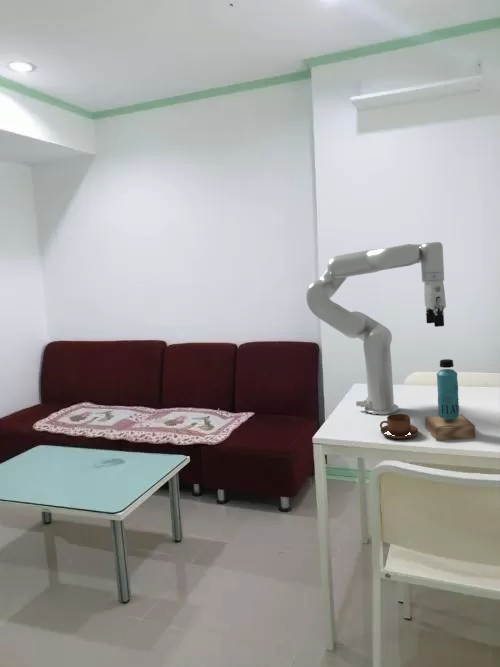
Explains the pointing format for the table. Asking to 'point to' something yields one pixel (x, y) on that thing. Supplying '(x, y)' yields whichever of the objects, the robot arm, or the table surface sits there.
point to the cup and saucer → (398, 426)
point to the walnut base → (450, 428)
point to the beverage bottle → (447, 391)
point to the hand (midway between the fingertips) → (435, 324)
